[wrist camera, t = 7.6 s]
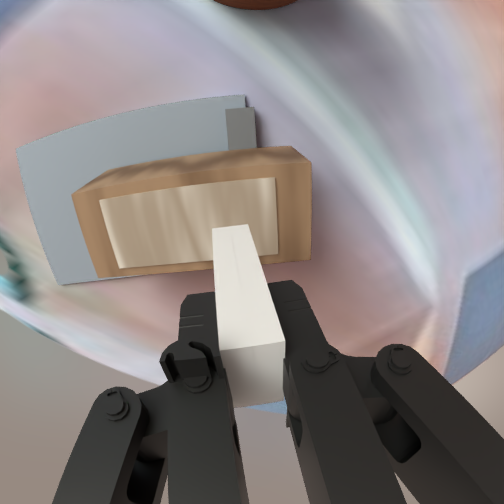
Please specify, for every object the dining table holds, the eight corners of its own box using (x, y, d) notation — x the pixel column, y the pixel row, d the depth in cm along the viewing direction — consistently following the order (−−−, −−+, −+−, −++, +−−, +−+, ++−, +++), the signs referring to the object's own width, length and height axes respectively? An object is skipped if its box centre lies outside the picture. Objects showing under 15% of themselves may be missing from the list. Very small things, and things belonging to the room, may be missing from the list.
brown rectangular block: (311, 162, 14) (69, 195, 14) (311, 260, 17) (97, 279, 17) (290, 145, 20) (108, 169, 20) (293, 220, 23) (125, 238, 23)
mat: (250, 94, 19) (253, 93, 18) (261, 257, 26) (263, 264, 25) (18, 148, 17) (10, 150, 16) (59, 282, 24) (55, 289, 23)
